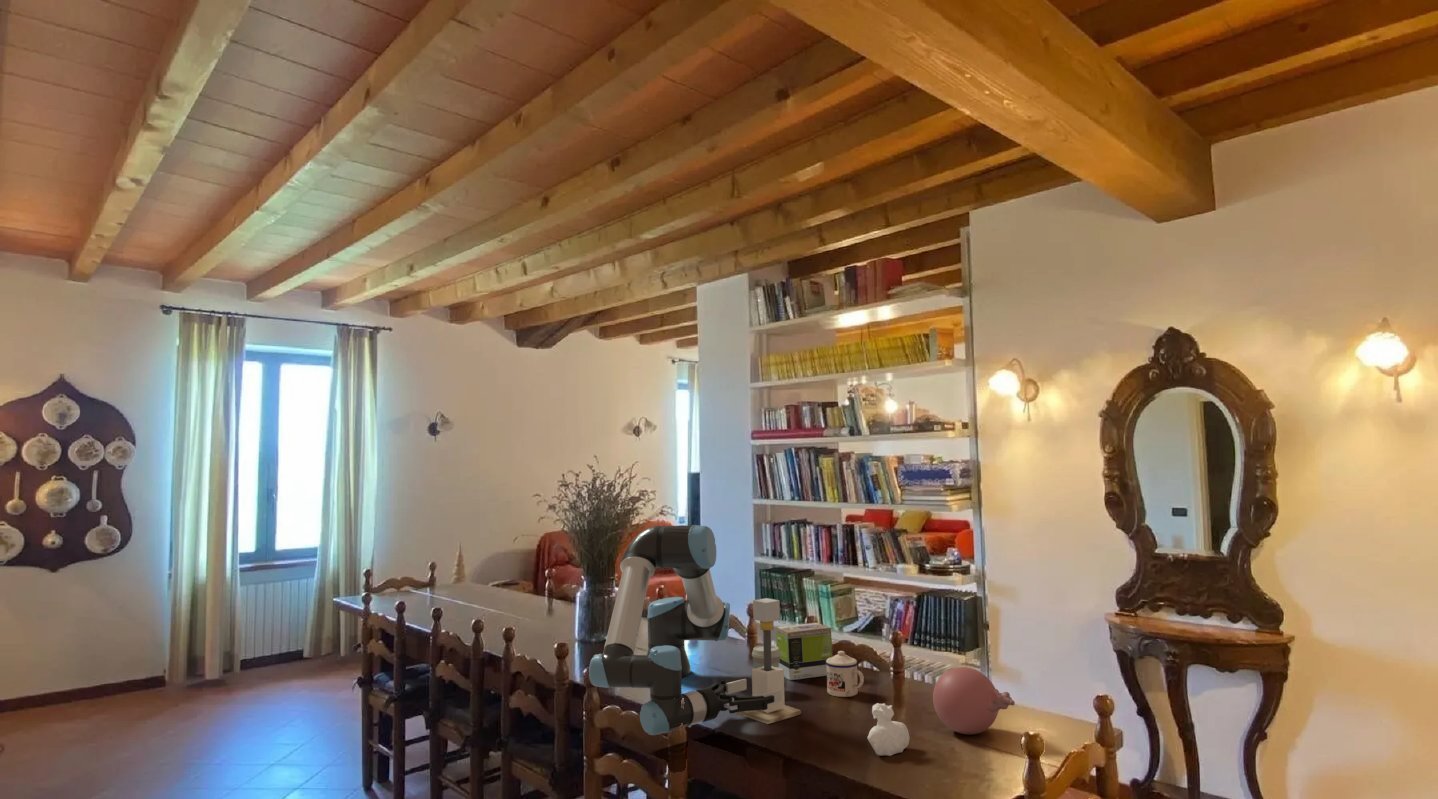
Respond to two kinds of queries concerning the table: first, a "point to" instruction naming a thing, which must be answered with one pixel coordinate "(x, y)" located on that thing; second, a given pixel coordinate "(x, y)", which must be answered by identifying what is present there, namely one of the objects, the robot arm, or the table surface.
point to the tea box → (804, 650)
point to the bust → (887, 732)
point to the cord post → (766, 624)
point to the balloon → (968, 700)
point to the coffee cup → (759, 656)
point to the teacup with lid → (843, 675)
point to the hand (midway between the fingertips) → (762, 689)
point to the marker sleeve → (768, 685)
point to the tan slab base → (771, 714)
